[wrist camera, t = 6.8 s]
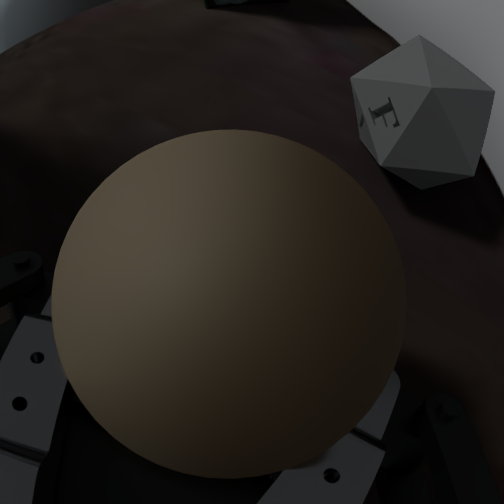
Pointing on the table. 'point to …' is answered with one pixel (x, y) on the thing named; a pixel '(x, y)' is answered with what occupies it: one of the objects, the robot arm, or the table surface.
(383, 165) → the die
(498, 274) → the table surface
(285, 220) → the oak cylinder
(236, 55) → the table surface
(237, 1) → the chalk box
